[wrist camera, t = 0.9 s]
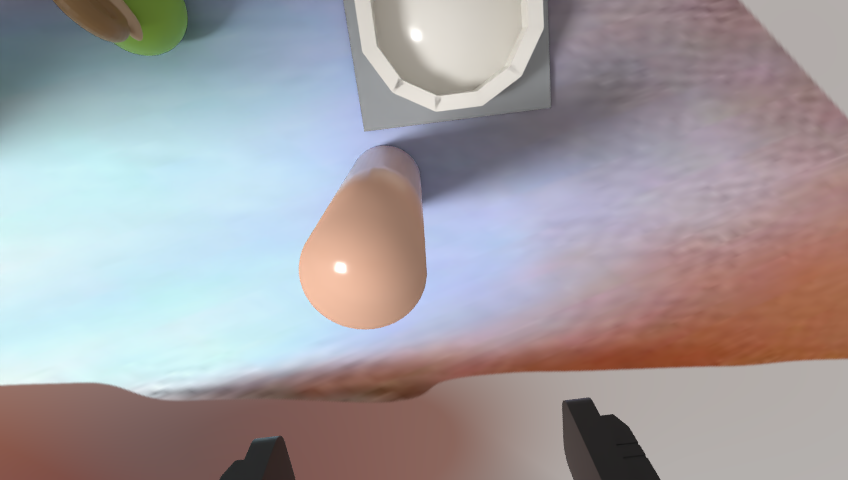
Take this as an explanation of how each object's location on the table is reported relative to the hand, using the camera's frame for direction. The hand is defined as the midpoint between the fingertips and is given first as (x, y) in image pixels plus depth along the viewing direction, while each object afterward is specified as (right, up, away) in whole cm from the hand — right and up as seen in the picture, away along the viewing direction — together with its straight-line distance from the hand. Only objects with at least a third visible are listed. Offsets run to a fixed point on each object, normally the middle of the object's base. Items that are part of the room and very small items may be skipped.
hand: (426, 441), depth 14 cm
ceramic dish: (+2, +21, +20) cm, 29 cm away
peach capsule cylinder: (-3, +10, +24) cm, 26 cm away
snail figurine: (-19, +22, +20) cm, 35 cm away
